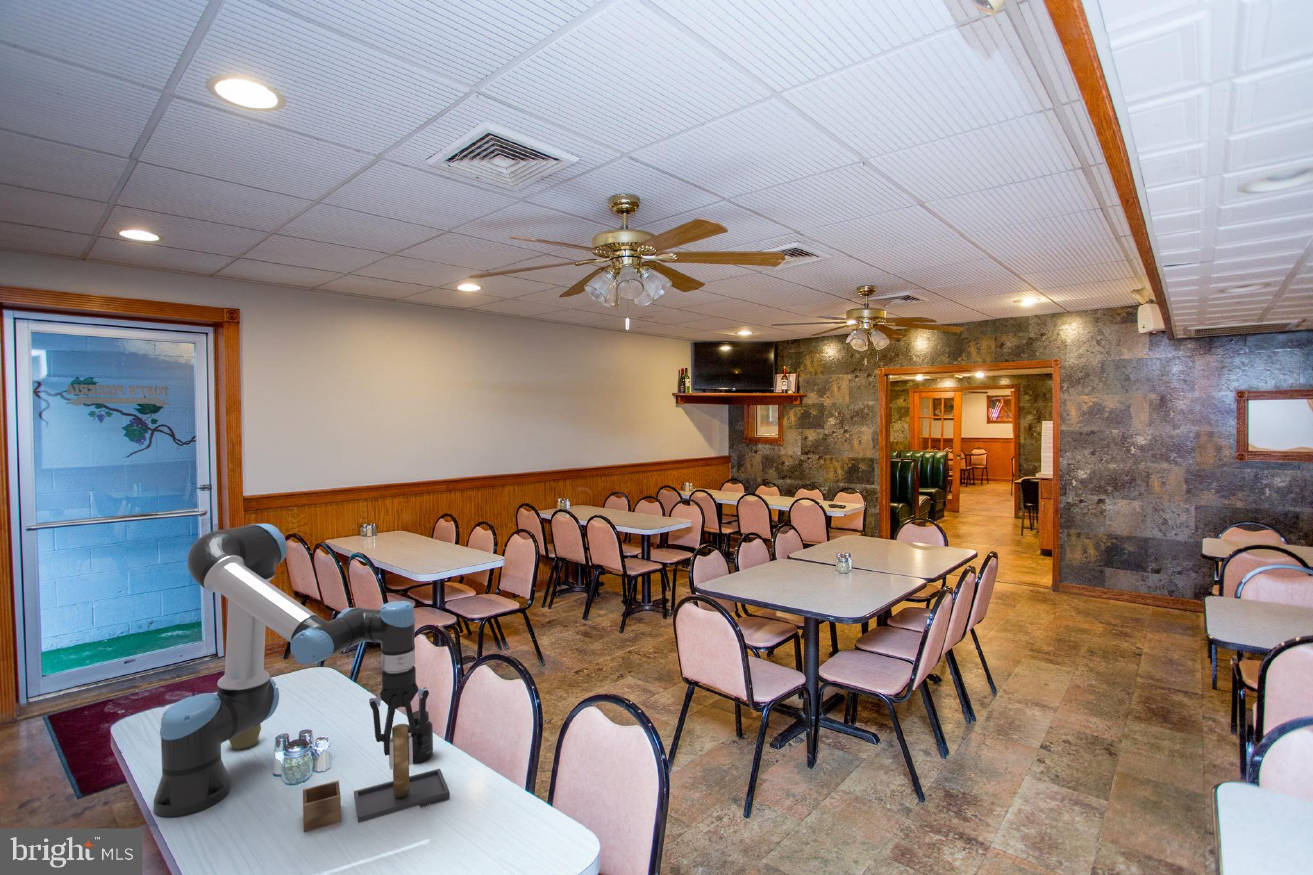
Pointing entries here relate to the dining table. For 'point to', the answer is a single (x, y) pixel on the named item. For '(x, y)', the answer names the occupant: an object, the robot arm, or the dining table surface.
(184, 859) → the dining table surface
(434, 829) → the dining table surface
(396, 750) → the dowel
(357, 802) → the tray
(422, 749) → the supplement bottle
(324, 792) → the box
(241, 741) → the squeeze bottle
